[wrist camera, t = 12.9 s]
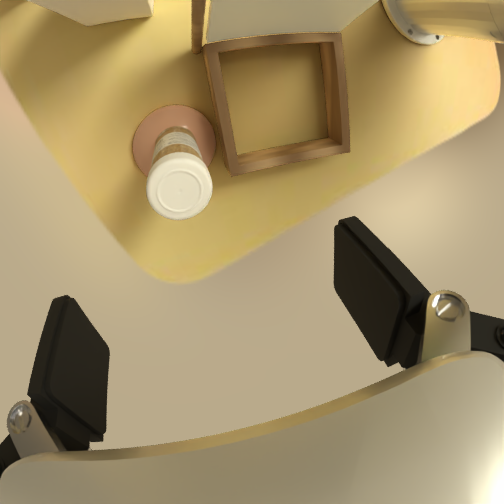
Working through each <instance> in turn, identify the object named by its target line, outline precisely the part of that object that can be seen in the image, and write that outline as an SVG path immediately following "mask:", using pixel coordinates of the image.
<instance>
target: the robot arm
mask: <svg viewBox="0 0 504 504" xmlns="http://www.w3.org/2000/svg"><path fill="white" fill-rule="evenodd" d="M382 3H383V6H384V9H385V11H386V13H387V15H388V17H389V19H390V20H391V22H392V23H393V25H394V26H395V27H396V29H397V30H398V31H399V32H400V33H401V34H402V35H404V36H405V37H406V38H408V39H409V40H411V41H413V42H415V43H419V44H425V45H431V44H435V43H438V42H439V41H440V40H442V39H443V37H444V36H455V37H464V38H472V39H479V40H485V41H491V42H497V43H502V44H504V0H382ZM334 288H335V290H336V293H337V294H338V296H339V297H340V299H341V300H342V302H343V303H344V305H345V307H346V308H347V310H348V311H349V313H350V314H351V316H352V318H353V319H354V321H355V322H356V324H357V325H358V327H359V329H360V330H361V332H362V333H363V335H364V337H365V338H366V340H367V342H368V343H369V345H370V347H371V348H372V350H373V351H374V353H375V355H376V356H377V358H378V359H379V360H380V361H383V360H384V362H385V363H386V365H387V367H389V366H392V365H394V364H396V363H398V362H399V363H400V365H401V367H403V371H401V372H399V373H397V374H395V375H393V376H390V377H388V378H386V379H384V380H381V381H379V382H377V383H374V384H372V385H370V386H367V387H365V388H362V389H360V390H358V391H355V392H353V393H350V394H348V395H345V396H343V397H340V398H338V399H335V400H332V401H330V402H327V403H324V404H322V405H319V406H316V407H313V408H310V409H307V410H304V411H302V412H298V413H295V414H292V415H289V416H285V417H282V418H279V419H275V420H272V421H268V422H265V423H261V424H258V425H254V426H250V427H246V428H242V429H238V430H234V431H230V432H225V433H221V434H216V435H212V436H206V437H201V438H196V439H190V440H185V441H179V442H172V443H166V444H158V445H151V446H142V447H133V448H122V449H108V450H92V449H91V448H90V447H89V444H90V443H89V442H100V441H103V434H104V433H105V432H106V413H107V412H106V411H107V385H108V369H109V356H110V352H109V347H108V345H107V344H106V342H105V341H104V340H103V338H102V337H101V336H100V334H99V333H98V332H97V330H96V329H95V328H94V326H93V325H92V323H91V322H90V321H89V319H88V318H87V316H86V315H85V314H84V312H83V311H82V309H81V308H80V306H79V305H78V303H77V302H76V300H75V299H74V298H70V297H69V296H68V295H65V296H61V297H58V298H55V299H53V301H52V303H51V306H50V309H49V312H48V316H47V319H46V322H45V325H44V328H43V332H42V335H41V338H40V342H39V346H38V350H37V353H36V357H35V361H34V366H33V370H32V374H31V378H30V383H29V388H28V393H27V395H28V396H29V397H30V398H31V401H30V402H28V401H26V400H22V401H19V402H17V403H16V404H15V405H14V406H13V407H12V408H11V410H10V412H9V414H8V418H7V428H8V431H9V435H8V436H7V437H6V438H5V440H4V441H3V442H2V443H1V444H0V504H504V319H500V318H496V317H492V316H487V315H483V314H479V313H475V312H471V311H470V310H469V305H468V304H467V302H466V301H465V299H464V298H463V297H462V296H461V295H459V294H457V293H456V292H453V291H449V290H440V291H436V292H435V293H433V294H430V293H429V291H428V290H427V289H426V288H425V287H424V286H423V285H422V284H421V282H420V281H419V280H418V279H417V278H416V277H415V276H414V275H413V274H412V273H411V272H410V270H409V269H408V268H407V267H406V266H405V265H404V264H403V263H402V262H401V261H400V260H399V259H398V258H397V257H396V255H395V254H394V253H393V252H392V251H391V250H390V249H389V248H387V247H386V246H385V245H384V244H383V243H382V242H381V241H380V240H379V239H378V238H377V237H376V236H375V235H374V234H373V233H372V232H371V231H370V230H369V229H368V228H367V227H366V226H365V225H364V224H363V223H362V222H361V221H360V220H359V219H358V218H357V217H355V216H352V217H349V218H345V219H341V220H339V222H338V225H336V226H335V228H334Z"/></svg>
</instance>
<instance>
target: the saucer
mask: <svg viewBox="0 0 504 504" xmlns="http://www.w3.org/2000/svg"><path fill="white" fill-rule="evenodd" d="M173 126H181V127H184V128H186V129H188V130H189V131H191V132H192V133H193V135H194V137H195V139H196V142H197V146H198V148H199V151H200V153H201V156H202V159H203V162H204V164H205V165H206V167H208V166H209V165H210V163H211V161H212V159H213V157H214V153H215V148H216V139H215V134H214V130H213V128H212V126H211V124H210V123H209V121H208V120H207V119H206V117H205V116H204V115H203V114H201V113H200V112H199V111H197V110H195V109H193V108H191V107H188V106H184V105H169V106H164V107H161V108H159V109H157V110H155V111H153V112H152V113H150V114H149V115H148V116H147V117H146V118H145V119H144V120H143V121H142V122H141V124H140V125H139V127H138V129H137V131H136V133H135V136H134V140H133V154H134V158H135V161H136V163H137V165H138V167H139V168H140V170H141V171H142V172H143V173H144V174H145V175H146V176H147V177H148V174H149V171H150V169H151V164H152V158H153V153H154V149H155V142H156V139H157V138H158V136H159V135H160V133H161V132H162V131H164V130H165V129H167V128H169V127H173Z"/></svg>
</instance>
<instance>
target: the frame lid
mask: <svg viewBox="0 0 504 504" xmlns="http://www.w3.org/2000/svg"><path fill="white" fill-rule="evenodd" d="M378 1H379V0H210V7H209V16H208V24H207V33H206V40H207V43H209V42H214V41H220V40H226V39H233V38H240V37H248V36H257V35H267V34H279V33H296V32H340V31H342V30H343V29H344V28H345V27H346V26H347V25H349V24H350V23H351V22H352V21H354V20H355V19H356V18H357V17H358V16H360V15H361V14H362V13H363V12H365V11H366V10H367V9H369V8H370V7H371V6H372V5H374V4H375V3H376V2H378Z"/></svg>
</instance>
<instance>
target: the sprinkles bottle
mask: <svg viewBox="0 0 504 504" xmlns="http://www.w3.org/2000/svg"><path fill="white" fill-rule="evenodd" d="M146 194H147V198H148V201H149V203H150V205H151V207H152V208H153V209H154V210H155V211H156V212H157V213H158V214H159V215H161V216H163V217H165V218H168V219H172V220H184V219H188V218H191V217H193V216H195V215H197V214H198V213H200V212H201V211H202V210H203V209H204V208H205V207H206V206H207V204H208V202H209V201H210V198H211V195H212V180H211V176H210V173H209V171H208V168H207V167H206V165H205V164H204V162H203V159H202V156H201V153H200V151H199V148H198V146H197V142H196V139H195V137H194V135H193V133H192V132H191V131H189V130H188V129H186V128H184V127H181V126H173V127H169V128H167V129H165V130H164V131H162V132H161V133H160V135H159V136H158V138H157V139H156V142H155V149H154V153H153V158H152V164H151V169H150V171H149V174H148V178H147V185H146Z"/></svg>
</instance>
